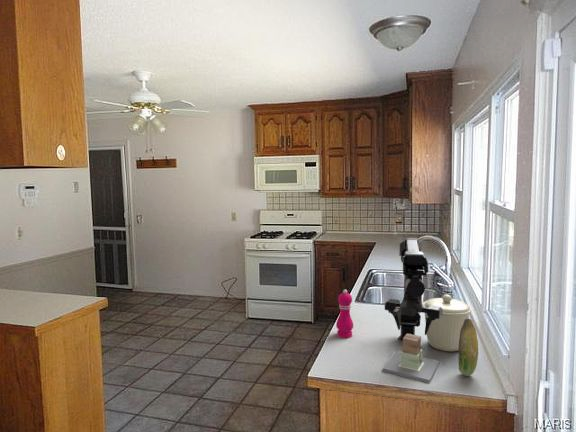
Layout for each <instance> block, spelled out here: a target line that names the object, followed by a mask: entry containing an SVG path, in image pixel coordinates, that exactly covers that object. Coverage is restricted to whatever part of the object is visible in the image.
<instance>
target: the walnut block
mask: <svg viewBox="0 0 576 432" xmlns="http://www.w3.org/2000/svg"><path fill="white" fill-rule="evenodd" d="M421 349H422V336H421V335H412V334H406V335H405V336H404V338H403V340H402V350H403V352H405V353H410V354H414V355H418V353H419V352H420V350H421Z"/></svg>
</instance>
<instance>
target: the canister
mask: <svg viewBox="0 0 576 432" xmlns="http://www.w3.org/2000/svg"><path fill="white" fill-rule="evenodd" d="M430 305H434V306H440V307H441V308H442V315H441V317H440V318H439V319H436V320H433V321H432V322H431V325H430V327H429V330H428V332H427V334H426V339H427V342H428V343H429V345H430V346H431V347H433V348H434V349H436V350H439V351H444V352H459V351H458V349H459V338H460V330H461V327H462V325H463V323H464V320H465V319H466V318H469V319H470V314H471V312H472V311H473V310H472V307H471V306H470V305H468V304H467V303H466V302H464V301H461V300H459V299H454V298H452V296H451V295H449V294H443V295H442V297H434V298H429V299H427V300H425V301H424V302H422V306H423V307H426V308H429V306H430ZM427 316H428V315H427V313H424V319H425V320H424V321H425V323H426V317H427Z"/></svg>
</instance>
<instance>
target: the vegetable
mask: <svg viewBox="0 0 576 432" xmlns="http://www.w3.org/2000/svg"><path fill="white" fill-rule="evenodd" d="M457 352H458V370H459V373H460V374H461V375H463V376H465V377H469V376H472V375H473V374H474V373H475V371H476V368H477V365H478V359H479V338H478V334H477V329H476V327H475V325H474V322H473V320H472V319H471V318H470V317H469V318H466V319H465V320H464V323H463V325H462V327H461V330H460V338H459V349H458V351H457Z"/></svg>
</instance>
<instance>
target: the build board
mask: <svg viewBox="0 0 576 432" xmlns="http://www.w3.org/2000/svg"><path fill="white" fill-rule="evenodd" d="M440 362H441V361H440V360H436V359H432V358H428V357H423V356H422V364H421V366H420V367H419V369H418V370H416V369H412V368H408V367H404V366H401V352H400V351H395V352H394V353H393V354H392V355H391V357H390V358H389V359H388V360H387V362H386V363H385V364H384V365H383V366H382V367H381V372H385V373H387V374H388V373H389V374H392V375H397V376H400V377H404V378H409V379H412V380H417V381H421V382H424V383H428V382H429V383H428V384H430V383H431V381H432V380H433V377H434V375H435V373H436V371H437V369H439V368H438V367H439V366H440Z"/></svg>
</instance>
